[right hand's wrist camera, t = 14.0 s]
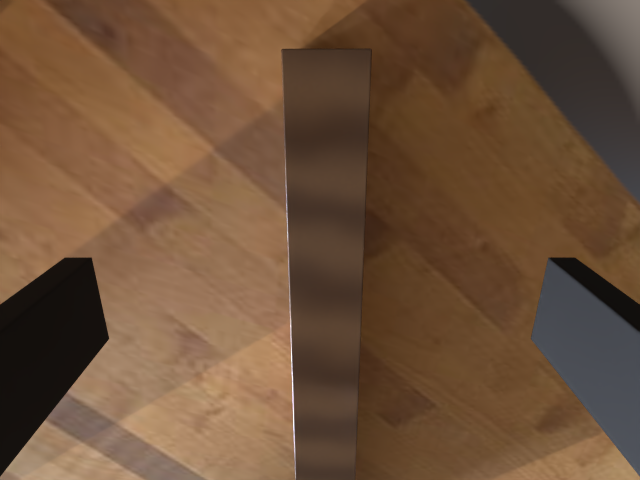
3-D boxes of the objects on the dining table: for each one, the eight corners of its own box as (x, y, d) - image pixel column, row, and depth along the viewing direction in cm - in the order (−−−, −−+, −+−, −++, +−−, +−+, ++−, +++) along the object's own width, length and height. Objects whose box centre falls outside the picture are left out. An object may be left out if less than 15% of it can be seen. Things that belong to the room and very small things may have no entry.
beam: (293, 54, 31) (281, 48, 24) (360, 54, 31) (371, 48, 23) (304, 534, 51) (299, 619, 43) (346, 534, 50) (349, 620, 43)
